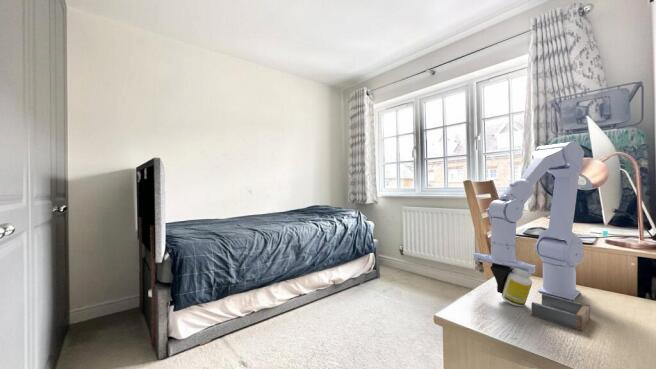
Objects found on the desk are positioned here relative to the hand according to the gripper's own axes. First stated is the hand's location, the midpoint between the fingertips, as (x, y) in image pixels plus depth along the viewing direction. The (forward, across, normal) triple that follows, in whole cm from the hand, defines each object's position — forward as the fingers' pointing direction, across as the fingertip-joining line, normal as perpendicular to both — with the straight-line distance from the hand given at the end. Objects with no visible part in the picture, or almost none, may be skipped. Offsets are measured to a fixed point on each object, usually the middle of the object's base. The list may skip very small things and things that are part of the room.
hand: (501, 292), depth 74 cm
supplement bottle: (+2, +2, +1) cm, 3 cm away
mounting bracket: (+2, +12, +1) cm, 13 cm away
